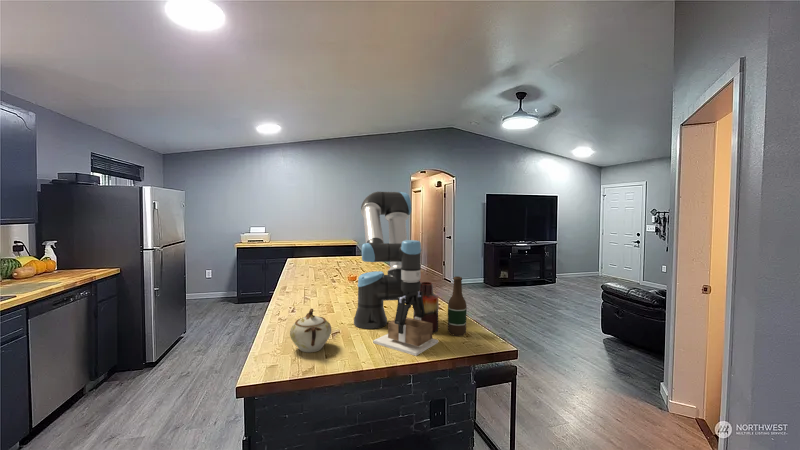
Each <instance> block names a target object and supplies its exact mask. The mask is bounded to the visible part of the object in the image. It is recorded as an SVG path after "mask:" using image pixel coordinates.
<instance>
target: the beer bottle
mask: <svg viewBox="0 0 800 450" xmlns="http://www.w3.org/2000/svg"><path fill="white" fill-rule="evenodd" d="M452 279H453V286H452V288H453V289H452V295H451V297H450V298H449V300H448V303H447V333H448V334H449V335H451V336H455V337H463V336H464V335H466V333H467V313H468V312H467V309H468V308H467V302H466V300H465V297H464V296H463V286H462V285H463V283H462V282H463V281H462V280H463V278H462V277H461V276H459V275H458V276H454V277H453V278H452Z"/></svg>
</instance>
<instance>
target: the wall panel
mask: <svg viewBox="0 0 800 450" xmlns="http://www.w3.org/2000/svg"><path fill="white" fill-rule="evenodd" d="M372 342H373V344H375V345H379V346H382V347H384V348H389V349H392V350H395V351H398V352H402V353H404V354H409V355H412V356H415V357H417V356H418V355H419V354H421V353H422V354H423V352H425V351H427V350H428V349H429V348H431V347H433V346H435V345H437V344H438V343H439V339H437V338H433V337H432V339H431V340H429V341H427V342H425V343H424V344H422V345H420V346H415V345H412V344H408V343H404V342H400V341H397V340H394V339H390V338H388V333H386V334H384V335H381V336H380V337H378V338H375V339H374V340H373V339H372Z"/></svg>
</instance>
